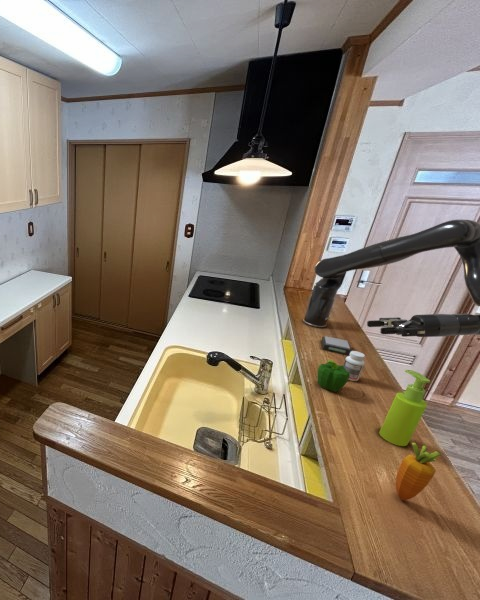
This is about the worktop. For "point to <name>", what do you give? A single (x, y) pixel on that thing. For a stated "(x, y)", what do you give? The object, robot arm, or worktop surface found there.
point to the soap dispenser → (405, 412)
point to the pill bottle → (354, 365)
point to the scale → (336, 345)
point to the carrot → (415, 473)
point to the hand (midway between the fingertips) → (374, 327)
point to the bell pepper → (332, 376)
